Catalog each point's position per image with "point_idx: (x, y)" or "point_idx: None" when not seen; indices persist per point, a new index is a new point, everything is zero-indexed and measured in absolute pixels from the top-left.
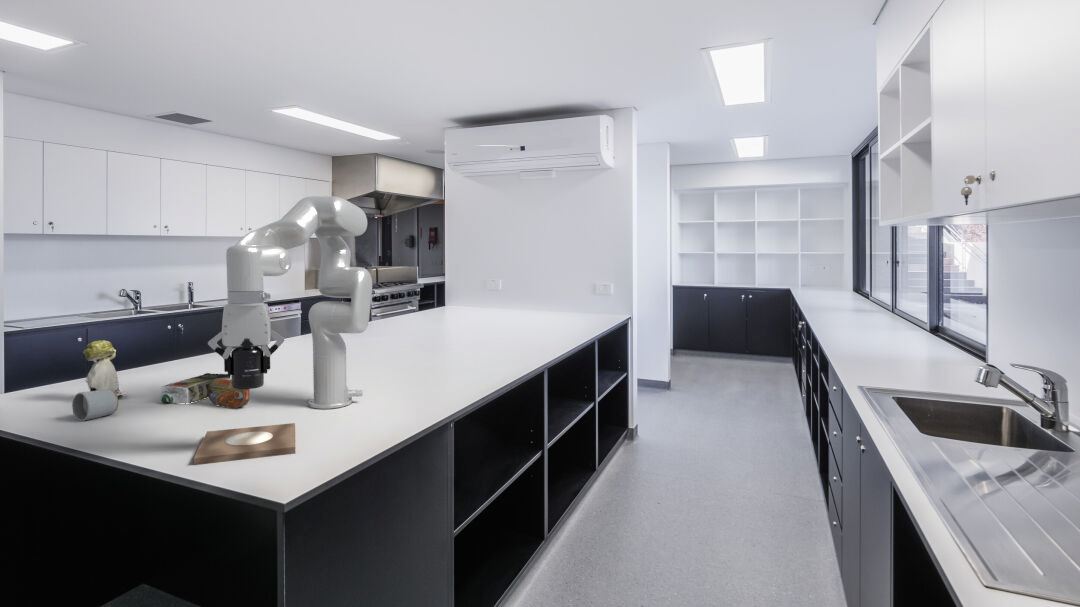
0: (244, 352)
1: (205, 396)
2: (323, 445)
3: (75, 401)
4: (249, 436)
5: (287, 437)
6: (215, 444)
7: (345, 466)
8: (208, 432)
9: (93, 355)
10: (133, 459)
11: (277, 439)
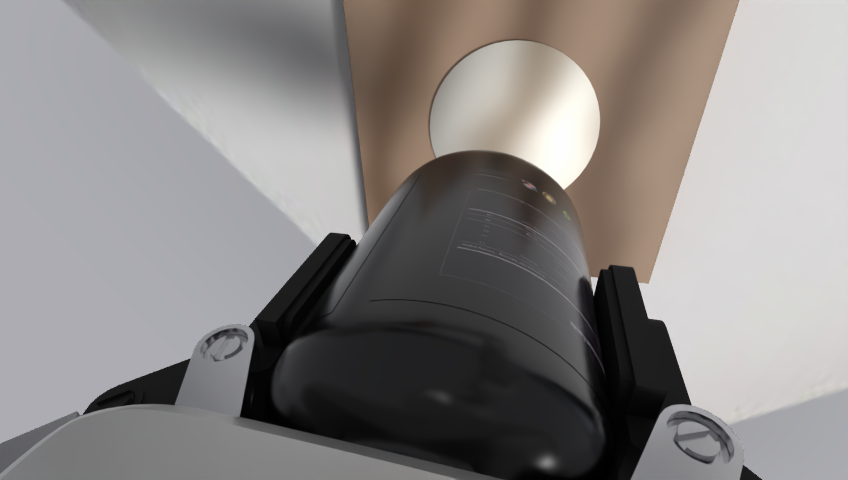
0: None
1: None
2: (764, 237)
3: None
4: (510, 110)
5: (651, 173)
6: (403, 152)
7: (737, 411)
8: None
9: None
10: (215, 128)
11: (608, 182)
